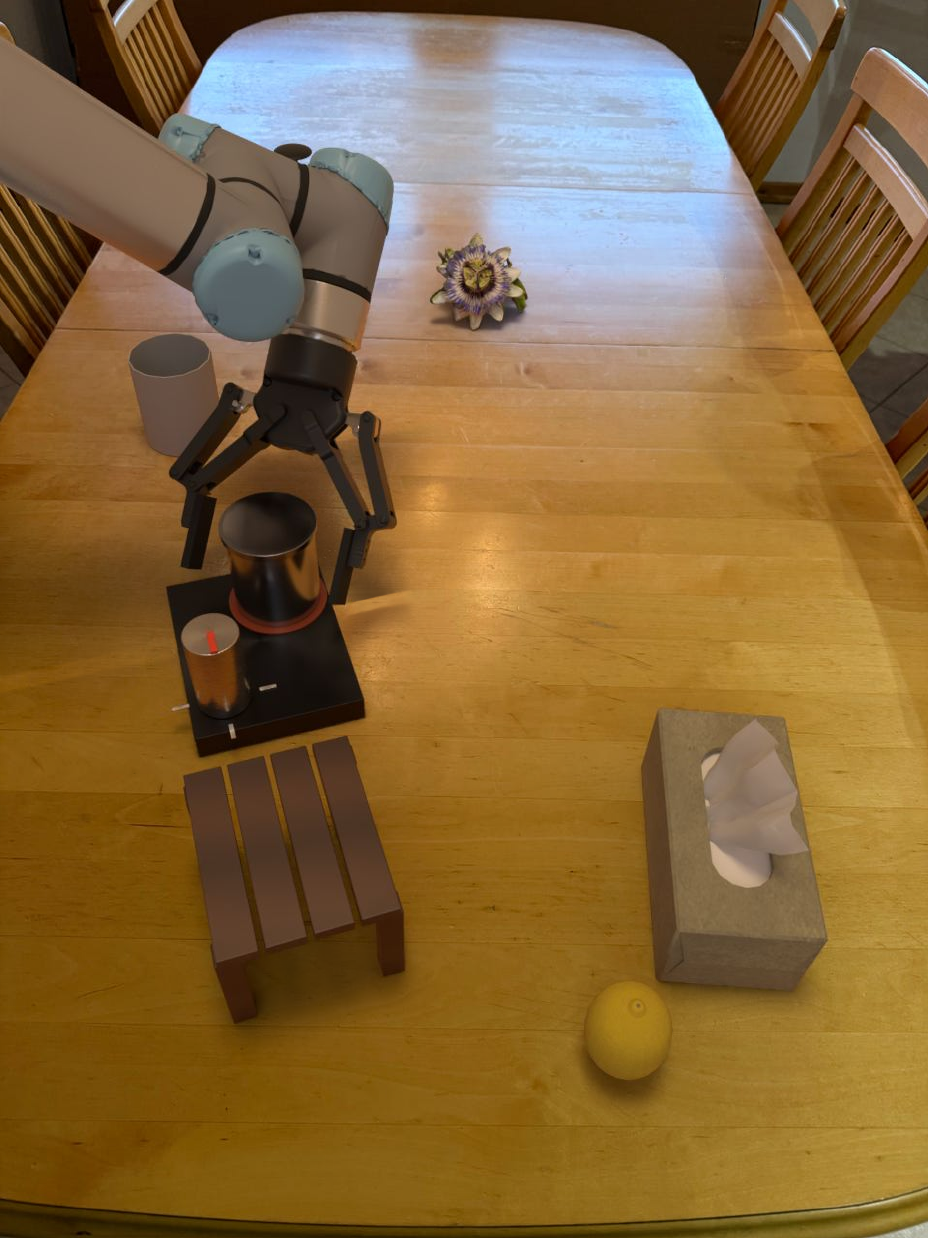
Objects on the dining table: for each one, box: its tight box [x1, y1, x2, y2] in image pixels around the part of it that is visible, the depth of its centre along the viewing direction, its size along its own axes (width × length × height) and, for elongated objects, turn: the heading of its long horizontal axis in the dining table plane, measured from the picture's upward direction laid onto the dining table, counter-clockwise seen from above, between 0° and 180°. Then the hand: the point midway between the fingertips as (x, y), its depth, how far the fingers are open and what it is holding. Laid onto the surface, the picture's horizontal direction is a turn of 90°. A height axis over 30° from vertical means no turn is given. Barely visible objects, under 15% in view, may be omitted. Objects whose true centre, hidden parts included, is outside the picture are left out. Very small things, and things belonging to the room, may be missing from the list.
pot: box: [217, 491, 321, 627], centre depth 87 cm, size 8×8×9 cm
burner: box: [229, 577, 328, 635], centre depth 90 cm, size 9×9×1 cm
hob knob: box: [181, 613, 252, 719], centre depth 79 cm, size 4×4×8 cm
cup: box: [127, 332, 220, 458], centre depth 106 cm, size 8×8×10 cm
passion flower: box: [429, 232, 529, 331], centre depth 127 cm, size 11×11×12 cm
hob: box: [165, 563, 366, 758], centre depth 87 cm, size 19×15×3 cm
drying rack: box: [182, 735, 406, 1024], centre depth 69 cm, size 14×12×10 cm
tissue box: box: [640, 707, 829, 992], centre depth 70 cm, size 19×10×16 cm, turn 176°
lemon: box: [583, 980, 673, 1081], centre depth 63 cm, size 6×6×8 cm
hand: (262, 586), depth 86 cm, fingers open, 13 cm apart
